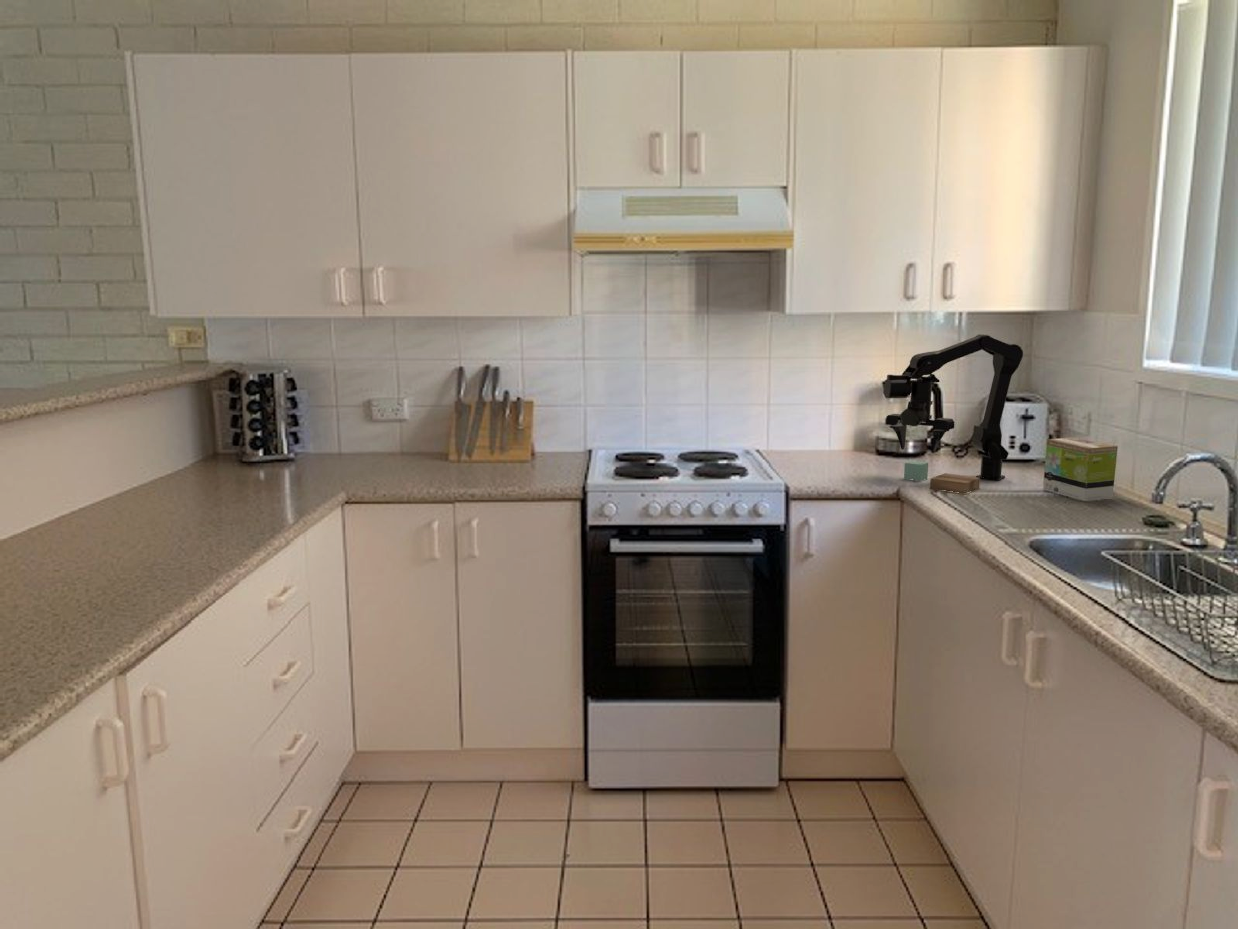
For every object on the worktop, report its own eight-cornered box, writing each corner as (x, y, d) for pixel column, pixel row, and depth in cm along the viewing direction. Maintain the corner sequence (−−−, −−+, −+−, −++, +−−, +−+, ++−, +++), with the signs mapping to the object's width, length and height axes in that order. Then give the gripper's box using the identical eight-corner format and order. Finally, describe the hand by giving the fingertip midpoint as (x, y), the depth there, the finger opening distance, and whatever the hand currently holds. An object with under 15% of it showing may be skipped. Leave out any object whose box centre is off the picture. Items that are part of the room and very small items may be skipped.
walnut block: (944, 485, 265) (944, 473, 264) (979, 489, 258) (980, 477, 258) (929, 490, 257) (930, 478, 257) (965, 495, 251) (966, 483, 250)
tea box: (1041, 490, 255) (1045, 438, 252) (1069, 488, 258) (1074, 436, 256) (1084, 502, 241) (1089, 446, 238) (1114, 499, 244) (1119, 444, 242)
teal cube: (911, 477, 275) (912, 460, 274) (927, 479, 271) (928, 462, 270) (903, 479, 271) (904, 462, 270) (920, 481, 268) (921, 464, 267)
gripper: (878, 398, 267) (875, 451, 270) (940, 402, 255) (937, 458, 258) (894, 394, 275) (892, 446, 278) (956, 399, 263) (953, 453, 266)
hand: (917, 451), depth 270 cm, fingers open, 9 cm apart
